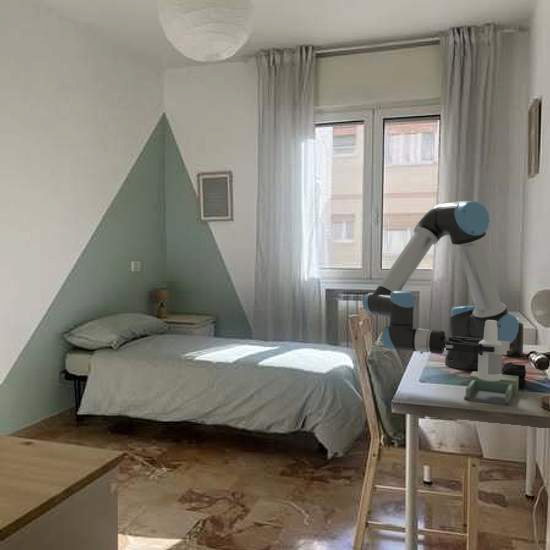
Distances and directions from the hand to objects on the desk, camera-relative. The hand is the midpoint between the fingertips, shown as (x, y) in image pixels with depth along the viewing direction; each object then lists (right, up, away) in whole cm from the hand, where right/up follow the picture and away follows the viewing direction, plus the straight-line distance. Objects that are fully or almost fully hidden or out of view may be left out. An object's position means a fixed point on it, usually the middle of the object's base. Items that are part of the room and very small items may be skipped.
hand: (507, 348), depth 165 cm
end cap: (+9, -15, +18) cm, 25 cm away
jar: (+30, -12, +69) cm, 76 cm away
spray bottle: (-4, -10, +3) cm, 11 cm away
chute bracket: (-3, -15, +6) cm, 17 cm away
